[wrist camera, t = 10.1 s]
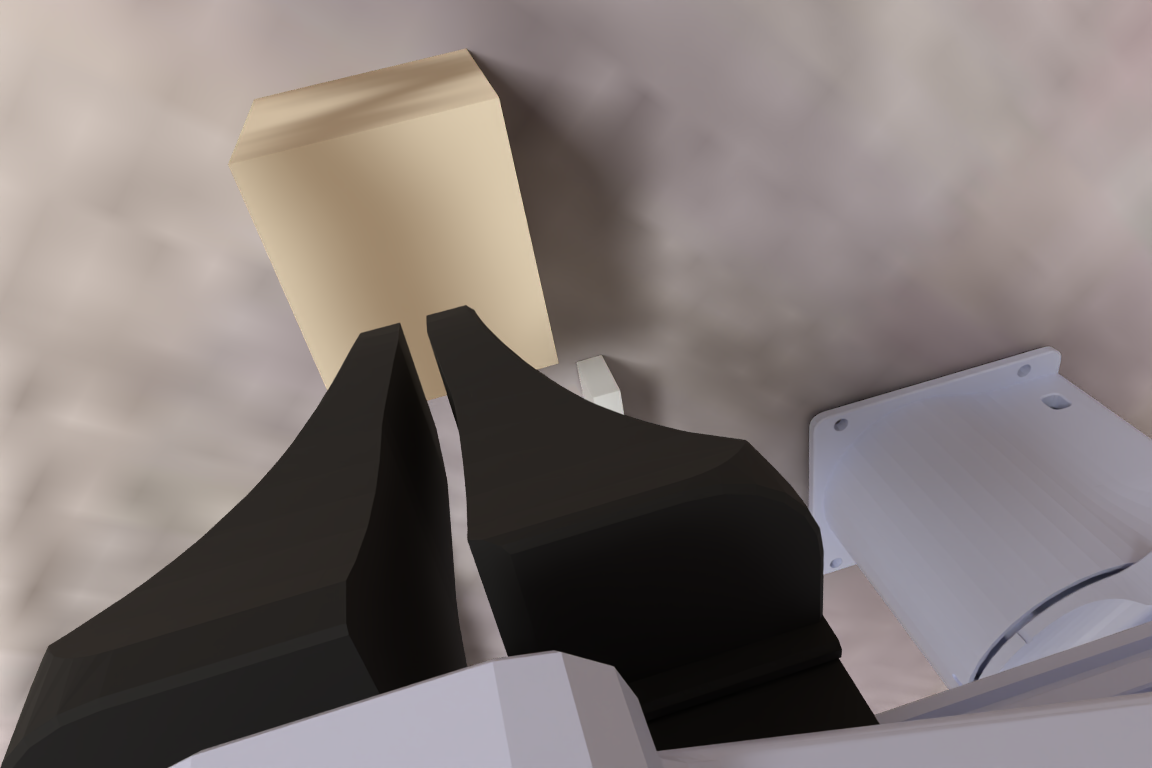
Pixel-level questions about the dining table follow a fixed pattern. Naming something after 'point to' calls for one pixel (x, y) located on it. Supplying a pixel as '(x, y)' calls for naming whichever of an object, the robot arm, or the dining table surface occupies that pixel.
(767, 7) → the dining table surface
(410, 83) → the maple block
